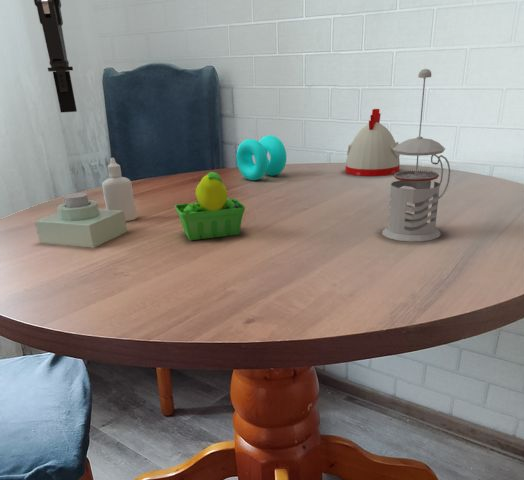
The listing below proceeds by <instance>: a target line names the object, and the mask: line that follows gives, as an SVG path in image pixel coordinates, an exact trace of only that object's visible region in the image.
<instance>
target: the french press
mask: <svg viewBox="0 0 524 480" xmlns="http://www.w3.org/2000/svg"><path fill="white" fill-rule="evenodd" d="M417 78H418V79H423V83H422V84H423V85H422V95H421V108H420V117H419V129H418V132H419V133H418V136H416V137H415V138H409V139H407V140H404V141H402V142H400V143H398V145H397V146H395V147H394V148H393V151H394V153H396V154H400V155H401V156H413V157H414V156H415V157H416V163H415V164H416V165H415V169H411V170H400V171H399V172H396V173H395V174H393V177H394V179H396V180H395V181H393V182H391V184H390V193H389V197H390V201H389V209H388V214H389V215H388V223H387V226H386V227H385V228H384V229H383V230H382V231H381V233H382V236H384V237H386V238H387V239H391V240H394V241H400V242H427V241H432V240H435V239H438V238H439V237H440V236H441V235H442V234H441V232H440V230H439V229H438V228H437V227H436V225H437V224H436V223H437V217H438V208H439V207H438V206H439V200H440V199H441V198H442V197H443V196H444V194H445V193H446V191H447V189H448V187H449V184H450V179H451V178H450V177H451V167H450V162H449V160H448V159H447V157H446V156H444V155H443V153H444V151H445V150H446V148H445V147H444V145H442V144H441V143H440V142H439V141H437V140H433V139H432V138H424V137H423V136H421V133H422V132H421V131H422V120H423V112H424V111H423V109H424V100H425V99H424V98H425V88H426V87H425V86H426V80H427V78H432V70H431V69H429V68H423V69H421V70H420V71H419V72H418V76H417ZM439 154H440V155H439ZM420 156H422V157H423V156H430V163H431V164H432V165H436V166H437V165H439V163H440V169H441V171H440V172H441V173H440V175H439V173H438V172H435V171H433V170H423V169H422V170H421V169H418V167H419V166H418V165H419V157H420ZM433 157H436V158H437V162H434V161H433ZM441 158H442V159H444V161H445V163H446V164H447V168H448V175H447V182H446V185H445V188H444V190H443V192H442V193H441V194H440V188H441V185H442V182H443V178H444V177H443V176H444V166H443V162H442V160H441ZM439 177H440V180H439V182H437V181H434V180H437V179H438V178H439ZM432 181H433V187H431V185H432ZM402 187H409V188H402ZM407 203H409V204H413V205H414V206H412V205H407ZM430 205H431V207H429V206H430ZM429 213H430V215H428V214H429ZM428 221H429V222H428Z"/></svg>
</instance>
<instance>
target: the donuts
mask: <svg viewBox="0 0 524 480" xmlns="http://www.w3.org/2000/svg"><path fill="white" fill-rule="evenodd" d="M268 153H269V156H270V157H268ZM235 157H236V158H235V159H236V165H237V168H238V171H239V172H240V174H241V175H242V176H243V177H244V178H245V179H247V180H249V181H257V180H260V179H261V178H263V177H264V176H265V175H266V176H271V177H274V176H277V175H279V174H281V173H282V172H283V170H284V168H285V167H286V164H287V150H286V148H285V144H284V143H283V142H282V140H281V139H280V138H278V137H277V136H275V135H272V134H270V135H265V136H263V137H262V138H260V139H259V140H256V139H254V138H246V139H244V140H243V141H242V142H240V144H239V145H238V147H237V149H236V154H235ZM253 157H254V160H253ZM269 158H270V159H269Z"/></svg>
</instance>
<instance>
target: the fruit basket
mask: <svg viewBox="0 0 524 480" xmlns="http://www.w3.org/2000/svg"><path fill="white" fill-rule="evenodd" d="M194 194H195V197H196V200H197V201H195V202H191V203H190V202H189V203H182V204H181V203H179V204H175V205H174V209H175V212H176V213H177V215H178V217H179V220H180V223H181V226H182V229H183V232H184V234H185V235H186V237H187V238H188V240H189V241H198V240H205V239H207V240H208V239H213V238H222V237H228V236H238V235H240V231H241V226H242V220H243V216H244V213H245V210H246V206H245V205H243V203H242V202H240V201H239V200H238V199H236V198H229V197H228V191H227V187H226V185H225V184H224V183H223V179H222V177H221V175H220V174H219V173H217V172H215V171H211V172H210V171H209V172H208V173H207V174H205V175H204V176H203V177H202V178H201V180H200V181H199V183H198V184H197V186H196V188H195V193H194Z"/></svg>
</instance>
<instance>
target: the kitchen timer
mask: <svg viewBox="0 0 524 480" xmlns="http://www.w3.org/2000/svg"><path fill="white" fill-rule="evenodd" d="M371 111H372V112H371V114H370V120H368V123H367V124H366V125H364V127H362V128H361V129H360V130H359V132H357V134H356V136H355V137H354V139H353V140H352V142H351V143H350V144H348V148H347V153H346V159H345V168H344V169H345V170H344V171H345V173H346V174H348V175H351V176H359V177H383V176H391V175H394V174H395V173H396V172H400V165H401V164H400V163H401V162H400V154H396V153H394V151H393V148H394V147H395V146H397V145H398V144H399V141H395V138H394V136H393V135H392V133H391V131H390V130H389V129H388V128H387V127H386V126H385V125H383V124H382V123H380V121H381V114H382V113H381V112H380V108H374V109H372V110H371Z"/></svg>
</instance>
